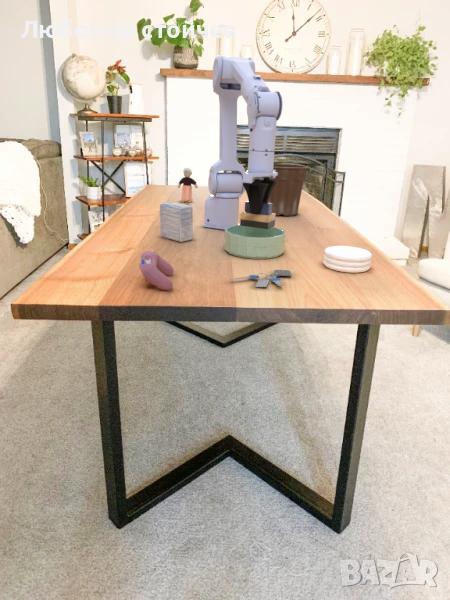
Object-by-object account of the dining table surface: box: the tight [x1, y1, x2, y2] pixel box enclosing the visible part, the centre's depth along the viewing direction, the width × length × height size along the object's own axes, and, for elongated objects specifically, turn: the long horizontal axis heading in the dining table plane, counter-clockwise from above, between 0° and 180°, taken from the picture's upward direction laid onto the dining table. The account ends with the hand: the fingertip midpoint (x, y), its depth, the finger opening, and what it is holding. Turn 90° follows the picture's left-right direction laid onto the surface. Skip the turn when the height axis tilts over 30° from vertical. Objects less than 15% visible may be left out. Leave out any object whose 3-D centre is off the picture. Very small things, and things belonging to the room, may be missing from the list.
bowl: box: [223, 225, 287, 260], centre depth 105 cm, size 14×14×5 cm
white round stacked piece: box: [322, 245, 373, 274], centre depth 96 cm, size 10×10×4 cm
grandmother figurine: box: [177, 167, 199, 204], centre depth 168 cm, size 8×4×13 cm, turn 95°
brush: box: [239, 200, 277, 229], centre depth 103 cm, size 7×4×6 cm, turn 63°
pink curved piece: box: [138, 249, 175, 291], centre depth 81 cm, size 10×5×7 cm, turn 5°
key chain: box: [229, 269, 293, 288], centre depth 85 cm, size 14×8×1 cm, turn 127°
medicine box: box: [159, 202, 194, 243], centre depth 113 cm, size 8×4×9 cm, turn 47°
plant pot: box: [268, 163, 309, 217], centre depth 151 cm, size 16×16×16 cm
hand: (257, 212), depth 103 cm, fingers closed on brush, 2 cm apart
